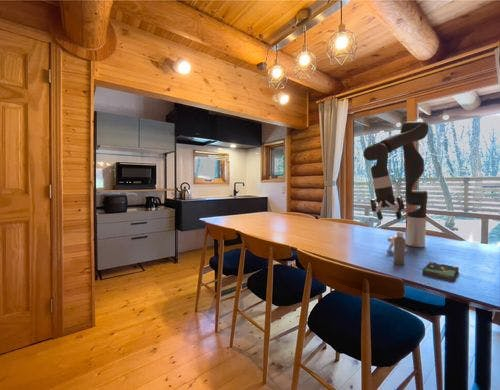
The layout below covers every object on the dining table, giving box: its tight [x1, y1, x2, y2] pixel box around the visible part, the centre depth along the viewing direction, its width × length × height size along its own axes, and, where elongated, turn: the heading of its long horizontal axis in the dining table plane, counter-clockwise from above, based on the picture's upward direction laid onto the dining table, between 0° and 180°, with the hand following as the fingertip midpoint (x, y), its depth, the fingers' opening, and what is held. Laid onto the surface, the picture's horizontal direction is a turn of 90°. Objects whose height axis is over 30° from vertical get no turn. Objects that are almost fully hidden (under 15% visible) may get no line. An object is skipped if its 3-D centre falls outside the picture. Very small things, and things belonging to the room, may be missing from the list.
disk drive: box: [422, 261, 460, 283], centre depth 105 cm, size 10×3×15 cm
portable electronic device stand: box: [386, 235, 408, 254], centre depth 135 cm, size 9×8×8 cm
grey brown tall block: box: [393, 231, 406, 267], centre depth 116 cm, size 4×4×15 cm
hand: (389, 219), depth 119 cm, fingers open, 8 cm apart
